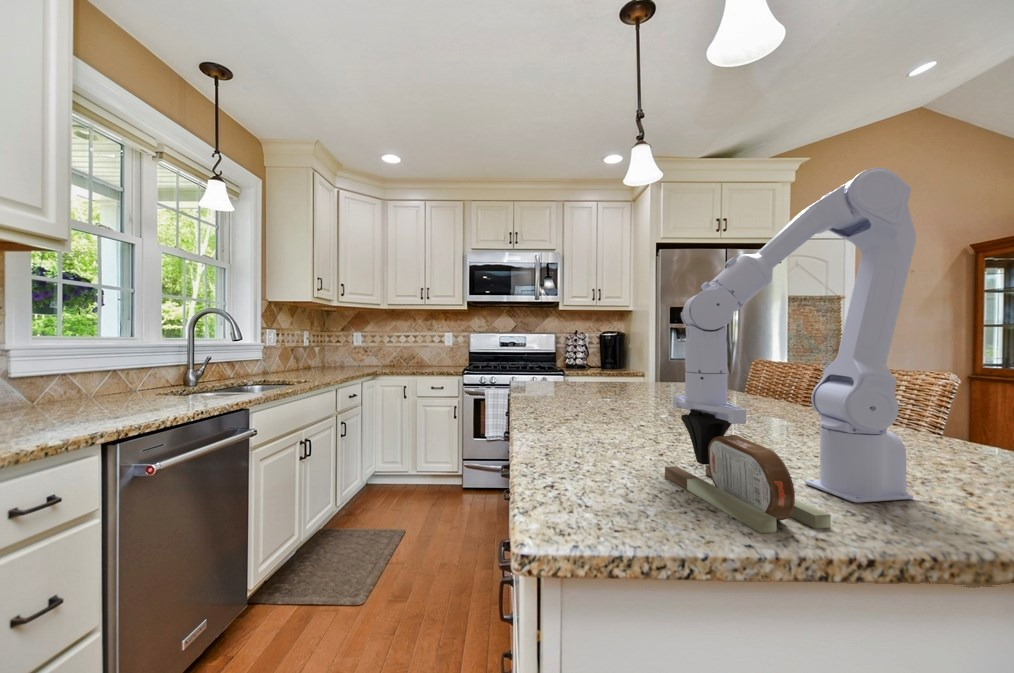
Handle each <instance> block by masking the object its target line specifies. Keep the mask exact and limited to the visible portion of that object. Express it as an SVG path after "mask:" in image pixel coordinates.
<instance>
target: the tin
mask: <svg viewBox="0 0 1014 673" xmlns="http://www.w3.org/2000/svg"><path fill="white" fill-rule="evenodd" d="M708 452H709V453H708V456H709V470H710V475H711V477H710V478H711V481H712V483H713V484H714V485H713V486H715V487H717V488H719V489H721V490H723V491H725V492H727V493H729V494H731V495H733V496H735V497H736V498H738V499H740V500H742V501H744V502H746V503H748V504H750V505H752V506H754V507H756V508H757V509H759V510H761V511H763V512H765V513H767V514H769V515H771V516H773V517H775V518H776V521H777V520H778V521H785V520H787V519H788V518H790V517H791V516H790V515H791V514H792V512H793V509H794V504H795V499H796V493H795V487H794V483H793V482H794V481H793V480H792V476H791V473H790V472H789V469H788V467H787V466H786V464H785V462H784V461H783V459H781V457H780V456H779V455H778V454H777V453H776V452H775V451H774V450H772V449H771V448H768V447H765V446H763V445H761V444H759V443H756V442H753V441H750V440H748V439H747V438H744V437H742V436H740V435H737V434H730V435H724V436H719V437H715V438H713V439H712V440H711V442H710V443H709V446H708Z"/></svg>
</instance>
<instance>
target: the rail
mask: <svg viewBox="0 0 1014 673" xmlns="http://www.w3.org/2000/svg"><path fill="white" fill-rule="evenodd" d="M705 475H706V476H708V477H710V478H711V475H710V470H709V465H705ZM664 477H665V478H667V479H668V480H671V481H672V482H673V483H675V484H677V485H678V486H681V487H682V488H684V489H685V490H687V491H689V492H690V493H692V494H694V495H695V496H697V497H698V498H701V499H702V500H704V502H707V503H709V504H710V505H712V506H714V507H716V508H717V509H719V510H721V511H722V512H723V513H725V514H727V515H729V516H731V517H732V518H734V519H736V520H738V521H739V522H741V523H743V524H744V525H746V526H748V527H749V528H751V529H753V530H755V531H756V532H758V533H759V534H767V533H768V534H769V533H770V534H771V533H777V520H776V518H775V517H773V516H771V515H769V514H767V513H765V512H763V511H761V510H759V509H757V508H756V507H754V506H752V505H750V504H748V503H746V502H744V501H742V500H740V499H738V498H736V497H735V496H733V495H731V494H729V493H727V492H725V491H723V490H721V489H719V488H717V487H716V486H715V485H713V484H711V483H709V482H708V481H706V480H704V479H702V478H700V477H698V476H696V475H695V474H693V473H690V472H689V471H688V470H684V469H683V468H682V467H681V468H680V467H679V466H677V465H676V466H674V465H673V466H664ZM831 515H832V514H830V513H829V512H826V511H824V510H821V509H819V508H817V507H815V506H812V505H810V504H808V503H805V502H803V501H801V500H799V499H796V498H795V504H794V509H793V512H792V514H791V515H790V516H789V517H791V518H793V519H794V520H797V521H799V522H801V523H803V524H805V525H807V526H809V527H811V528H813V529H814V530H817V529H830V528H831V526H832V525H831V523H832V522H831V520H832V519H831Z"/></svg>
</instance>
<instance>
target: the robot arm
mask: <svg viewBox="0 0 1014 673" xmlns="http://www.w3.org/2000/svg"><path fill="white" fill-rule="evenodd" d="M911 192H912V187H911V186H910V185H908V183H906V181H904V180H903V178H901V177H900V176H899V175H898V174H897V173H896V172H894V171H892V170H891V169H888V168H884V167H872V168H868V169H865V170H863V171H861V172H860V173H858V174H857V175H855V176H854V178H852V179H851V180H849V181H847V182H846V183H844V184H842V185H840V186H839V187H838V188H836V189H834V190H832V191H829V192H828V193H826V194H824V195H823V196H821V198H819V199H818V200H817V201H815V202H814V203H812V204H810V205H809V206H807V207H805V208H804V209H803V210H801V211H800V212H799V213H798V214H797V215H796V216H794V217H793V218H792V219H791V220H790V221H789V222H788V223H787V224H786V225H785V226H784V227H783V228H782V229H781V230H779V231H778V233H776V234H775V235H774V236H773V237H772V238H771V239H770V240H769V241H767V243H765V245H764V246H762V248H760V249H758V251H757V252H756V253H751V254H749V253H746V254H745V253H744V254H741V255H738V257H736V256H735V257H734V256H733V257H731V258H730V259H728V260H727V261H726V262H725V263H724V266H725V268H724V269H723V270H722V271H721V272H720V273H718V275H716V276H715V277H714V278H713V279H711V281H709V282H708V281H705V282H704V283H702V285H700V289H702V291H699V292H698V294H696V295H693V296H691V297H690V298H688V299H687V301H685V303H684V305H683V308H682V311H681V312H680V318H681V321H682V323H683V324H684V326H685V338H686V339H685V341H684V369H685V370H684V375H685V376H684V386H685V387H684V395H673V396H672V397H673V399H672V400H673V401H672V406H673V408H675V409H684V410H686V411H689V412H688V414H681V415H680V418H681V419H680V420H681V421H682V423H683V425H684V426H685V428H686V430H687V432H688V434H689V438H690V442H691V444H692V448H693V452H694V456H695V459H696V463H698V464H700V465H703V466H704V465H705V466H706V465H709V456H708V453H709V452H708V446H709V443H710V442H711V440H712V439H713V438H715V437H719V436H726V433H727V432H728V430H729V428H730V427H731V426H732V425H736V424H737V425H740V424H742V425H744V424H745V425H746V424H747V409H745V408H742V407H738V406H736V405H735V404H732V403H730V402H728V341H727V325H728V324H730V323H731V322H732V320H733V317H734V315H735V312H738V311H739V310H740V309H741V308H742V307H744V305H745V304H747V303H748V302H749V301H750V300H752V299H753V298H754V297H756V295H757V294H759V293H760V292H762V290H764V289H765V288H766V287H767V286H768V285H769V284H770V283H772V280H773V271H774V268H775V267H776V266H778V265H779V264H780V263H781V262H783V261H784V260H785V259H786V258H787V257H789V256H790V255H791V254H792V253H794V252H795V251H796V250H797V249H799V248H800V247H801V246H802V245H804V244H805V243H806V242H807V241H809V240H810V239H811V238H812V237H814V236H815V235H818V234H822V233H824V232H827V231H829V232H831V233H832V234H834V235H837V236H839V237H841V238H842V239H844V240H846V241H848V242H849V243H852V244H853V245H854V246H855V247H856V248H857V249H859V251H860V252H861V257H860V259H859V264H858V268H857V272H856V276H855V281H854V285H853V289H852V294H851V296H850V297H851V298H850V300H849V306H848V310H847V314H846V319H845V321H844V327H843V331H842V336H841V337H840V339H841V340H840V343H839V347H838V352H837V355H836V358H834V360H833V361H832V362H831V363H829V365H827V367H826V368H825V369H824V373H823V376H822V378H821V380H820V381H819V382H818V383H817V385H815V387H814V388H813V390H812V392H811V397H810V398H811V399H810V400H811V405H812V408H813V409H814V410H815V412H816V413H817V414H818V415H819V416H820V420H819V425H820V426H819V475H820V476H819V478H818V479H805V480H804V483H805V485H808V486H811V487H813V488H816V489H819V490H821V491H823V492H826V493H828V494H830V495H831V494H832V495H834V496H836V497H839V498H842V499H844V500H847V501H848V502H849V501H850V502H852V503H857V504H858V503H868V502H869V503H870V502H882V501H883V502H884V501H897V500H913V499H914V495H913V494H910V493H907V451H906V447H905V445H904V443H903V442H904V441H902V439H901V438H900V437H899V436H898V435H897V434H896V433H894V432H893V431H891V430H888V428H889V427H891V426H892V425H893V424H894V423H895V421H896V420H897V418H898V415H899V409H900V408H899V402H898V400H897V397H896V387H897V383H898V381H897V378H896V377H895V376H894V374H892V372H891V370H890V369H889V368H888V366H887V362H888V357H889V353H890V350H891V344H892V341H893V337H894V333H895V329H896V325H897V320H898V316H899V312H900V308H901V303H902V300H903V295H904V293H905V292H904V291H905V287H906V283H907V279H908V275H909V272H910V267H911V264H912V258H913V255H914V250H915V246H916V243H917V242H916V241H917V235H916V234H917V233H916V230H915V226H914V223H913V218H912V216H911V212H910V208H909V205H908V204H909V200H910V197H911V196H910V195H911Z"/></svg>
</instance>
